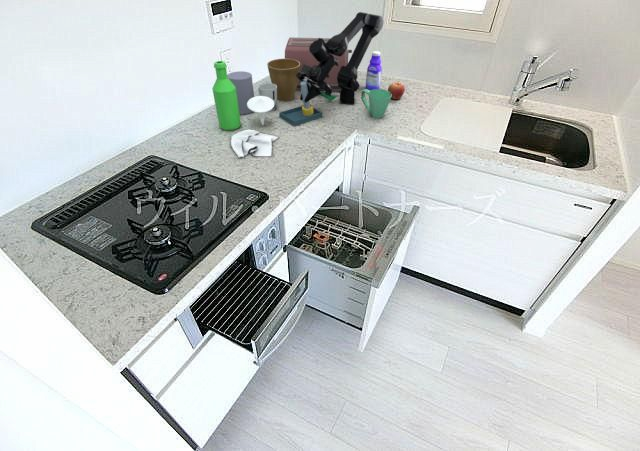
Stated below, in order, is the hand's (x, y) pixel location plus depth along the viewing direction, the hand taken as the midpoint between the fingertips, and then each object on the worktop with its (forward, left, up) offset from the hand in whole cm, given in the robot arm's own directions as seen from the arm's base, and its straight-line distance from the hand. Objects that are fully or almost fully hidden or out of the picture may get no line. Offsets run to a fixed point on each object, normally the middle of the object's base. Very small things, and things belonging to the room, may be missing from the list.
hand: (302, 100), depth 142 cm
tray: (+1, -1, -7) cm, 8 cm away
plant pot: (+11, -20, -8) cm, 24 cm away
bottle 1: (+28, +13, -8) cm, 32 cm away
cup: (+16, -7, -8) cm, 20 cm away
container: (+27, -4, -8) cm, 29 cm away
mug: (-31, -8, -8) cm, 32 cm away
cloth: (+15, +27, -8) cm, 32 cm away
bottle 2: (-31, -40, -8) cm, 51 cm away
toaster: (-2, -41, -8) cm, 42 cm away
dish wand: (-2, -3, -6) cm, 7 cm away
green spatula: (-7, -23, -8) cm, 25 cm away
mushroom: (+15, +10, -8) cm, 20 cm away
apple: (-42, -29, -8) cm, 51 cm away
